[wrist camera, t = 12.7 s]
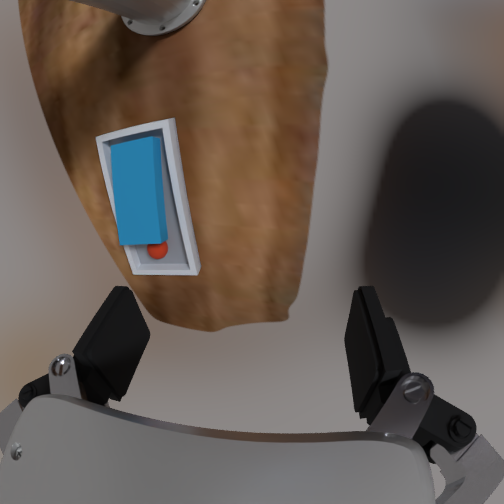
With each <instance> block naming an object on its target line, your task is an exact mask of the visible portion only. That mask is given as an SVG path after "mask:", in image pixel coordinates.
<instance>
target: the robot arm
mask: <svg viewBox="0 0 504 504" xmlns="http://www.w3.org/2000/svg"><path fill="white" fill-rule="evenodd" d="M70 1H75V2H78V3H82V4H86V5H89V6H93V7H96V8H99V9H103V10H106V11H109V12H112V13H115V14H118V15H121V17H122V19H123V22H124V24H125V25H126V26H127V27H128V28H129V29H130V30H132V31H134V32H136V33H138V34H142V35H148V36H156V35H162V34H167V33H170V32H172V31H175V30H177V29H179V28H180V27H182V26H184V25H185V24H187V23H188V22H189V21H191V20H192V19H193V18H194V17H195V16H196V15H197V14H198V13H199V11H200V10H201V9H202V7H203V5H204V3H205V1H206V0H70ZM196 4H198V5H196ZM132 22H133V23H132ZM164 28H165V29H164ZM163 29H164V30H163ZM149 338H150V331H149V329H148V327H147V324H146V322H145V320H144V318H143V316H142V313H141V311H140V309H139V306H138V304H137V302H136V299H135V297H134V295H133V292H132V291H131V290H130V289H129V288H128V287H126V286H115V287H114V288H113V290H112V291H111V293H110V294H109V295H108V297H107V298H106V300H105V301H104V303H103V304H102V306H101V307H100V309H99V310H98V312H97V313H96V315H95V316H94V318H93V319H92V321H91V322H90V324H89V325H88V327H87V329H86V330H85V332H84V333H83V335H82V336H81V338H80V340H79V341H78V343H77V344H76V346H75V348H74V350H73V351H72V352H73V353H74V356H73V357H72V356H71V355H68V354H61V355H59V356H57V357H56V358H55V359H54V360H53V361H52V362H51V364H50V366H49V373H48V374H46V375H44V376H42V377H40V378H38V379H36V380H34V381H32V382H30V383H28V384H26V385H25V386H24V387H23V388H22V389H21V391H20V393H19V400H17V399H15V400H14V401H13V402H12V403H11V404H10V405H8V406H7V407H6V408H5V409H4V410H3V411H2V412H1V413H0V448H1V451H2V453H3V458H2V461H1V464H0V504H483V503H484V502H485V501H486V500H487V499H488V497H489V496H490V495H491V494H492V492H493V491H494V490H495V489H496V487H497V486H498V485H499V483H500V482H501V481H502V479H503V477H504V460H503V459H502V458H501V456H500V455H499V454H498V453H497V452H496V451H495V449H494V448H493V447H492V446H491V445H490V444H489V442H488V441H487V440H486V439H485V438H484V437H483V436H482V434H481V435H480V436H478V435H477V433H476V423H475V421H474V419H473V418H472V417H471V416H470V415H469V414H467V413H465V412H464V411H462V410H460V409H459V408H457V407H455V406H453V405H452V404H450V403H448V402H446V401H445V400H443V399H441V398H440V397H438V396H436V395H434V386H433V384H432V382H431V380H430V379H429V378H428V377H427V376H425V375H424V374H421V373H417V372H415V373H414V372H412V373H411V371H410V368H409V365H408V361H407V358H406V355H405V352H404V349H403V346H402V343H401V340H400V337H399V334H398V331H397V329H396V326H395V323H394V321H393V319H392V318H391V317H387V318H385V315H384V313H383V310H382V307H381V304H380V301H379V299H378V296H377V293H376V291H375V288H374V286H360V287H359V288H358V290H355V291H354V293H353V298H352V304H351V309H350V314H349V318H348V323H347V328H346V332H345V338H344V339H345V340H344V341H345V348H346V354H347V360H348V366H349V373H350V380H351V387H352V394H353V402H354V409H355V412H359V415H360V419H361V418H367V423H368V424H369V425H370V426H369V427H368V429H367V430H366V431H352V432H330V433H303V434H302V433H301V434H280V433H277V434H276V433H251V432H237V431H225V430H216V429H208V428H201V427H194V426H187V425H181V424H176V423H170V422H165V421H160V420H155V419H151V418H146V417H142V416H137V415H133V414H130V413H126V412H122V411H119V410H115V409H112V408H110V407H109V404H108V399H109V398H110V399H112V400H116V401H119V402H120V401H121V398H122V396H124V395H125V394H126V392H127V390H128V387H129V385H130V382H131V380H132V378H133V375H134V373H135V370H136V368H137V366H138V364H139V361H140V359H141V356H142V354H143V352H144V350H145V348H146V345H147V343H148V341H149ZM429 462H430V463H433V464H437V465H438V466H439V467H440V469H441V471H440V472H441V473H442V475H443V476H444V478H445V480H446V486H445V489H444V491H443V493H442V494H441V495H440V496H439V497H438V498H437V499H436V500H435V491H434V483H433V478H432V473H431V469H430V465H429Z"/></svg>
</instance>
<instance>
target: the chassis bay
mask: <svg viewBox="0 0 504 504" xmlns="http://www.w3.org/2000/svg"><path fill="white" fill-rule="evenodd" d="M151 136H153V137H157V138H160V146H161V165H162V179H163V192H164V204H165V214H166V223H167V232H168V240H166V243H167V245H168V252H167V254H166V256H165V257H163V258H161V259H154V258H152V257H151V256H150V255H149V254H148V252H147V245H148V244H137V245H123V246H124V249H125V252H126V255H127V258H128V260H129V263H130V266H131V269H132V272H133V274H134V275H198V273H199V270H200V268H201V264H200V259H199V254H198V250H197V245H196V240H195V235H194V230H193V225H192V220H191V214H190V209H189V204H188V198H187V192H186V187H185V181H184V175H183V169H182V163H181V157H180V150H179V143H178V137H177V130H176V122H175V118H170V119H165V120H160V121H155V122H150V123H146V124H141V125H137V126H133V127H129V128H125V129H121V130H117V131H114V132H110V133H106V134H103V135H100V136H97V137H96V142H97V147H98V152H99V157H100V162H101V166H102V171H103V175H104V179H105V183H106V187H107V191H108V195H109V199H110V202H111V206H112V210H113V213H114V217H115V220H116V212H115V203H114V193H113V181H112V166H111V145H115V144H119V143H124V142H128V141H132V140H137V139H141V138H146V137H151ZM116 223H117V220H116Z"/></svg>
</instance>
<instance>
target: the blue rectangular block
mask: <svg viewBox="0 0 504 504" xmlns="http://www.w3.org/2000/svg"><path fill="white" fill-rule="evenodd" d="M111 166H112V181H113V193H114V203H115V212H116V220H117V228H118V235H119V242H120V245H137V244H148V245H147V252H148V254H149V255H150V256H151V257H152V258H154V259H161V258H163V257H165V256H166V254H167V252H168V245H167V243H166V240H168V232H167V223H166V214H165V204H164V192H163V179H162V165H161V146H160V138H157V137H153V136H151V137H146V138H141V139H137V140H132V141H128V142H124V143H119V144H115V145H111Z"/></svg>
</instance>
